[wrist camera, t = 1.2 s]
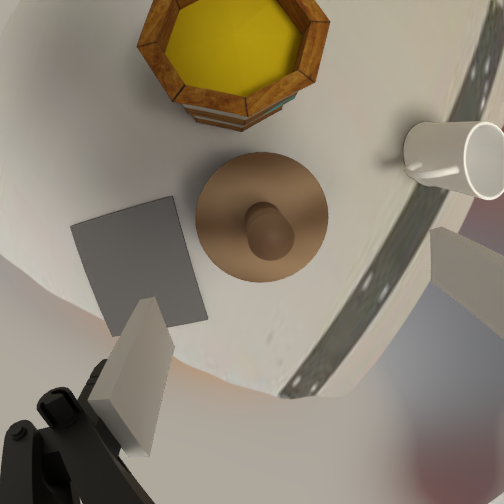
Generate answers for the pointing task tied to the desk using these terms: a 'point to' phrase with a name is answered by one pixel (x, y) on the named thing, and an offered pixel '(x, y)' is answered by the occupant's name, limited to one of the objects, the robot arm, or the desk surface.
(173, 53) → the mug
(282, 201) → the lid
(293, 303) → the desk surface
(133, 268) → the mat
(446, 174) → the mug
